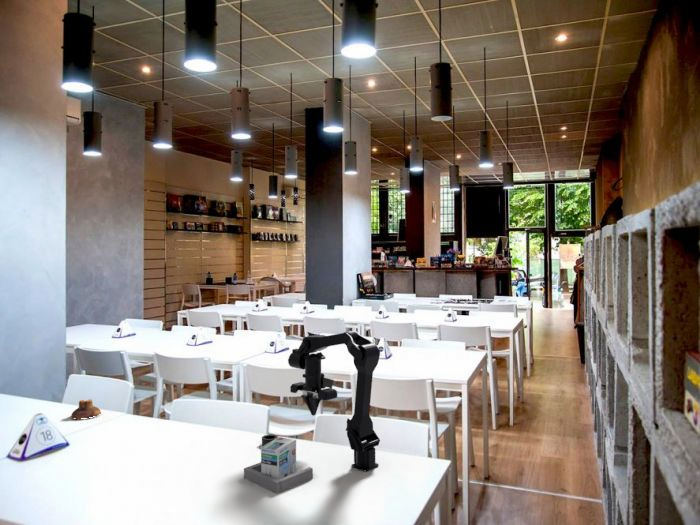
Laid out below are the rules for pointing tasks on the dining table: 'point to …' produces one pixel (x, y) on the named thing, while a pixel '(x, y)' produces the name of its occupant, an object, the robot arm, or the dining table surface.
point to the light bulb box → (279, 458)
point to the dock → (273, 484)
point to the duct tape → (268, 439)
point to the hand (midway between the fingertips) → (313, 415)
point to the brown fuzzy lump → (85, 410)
